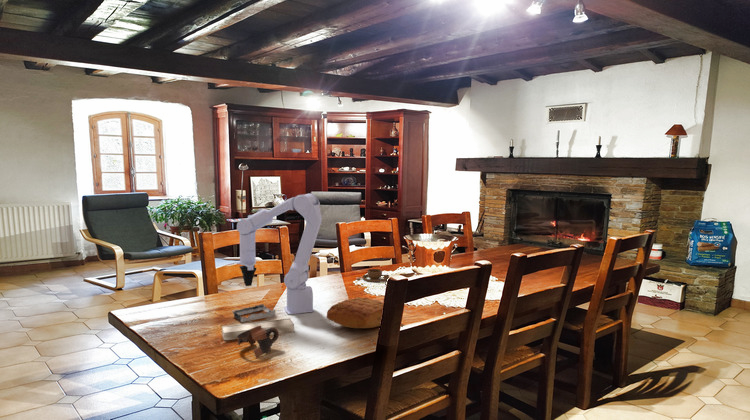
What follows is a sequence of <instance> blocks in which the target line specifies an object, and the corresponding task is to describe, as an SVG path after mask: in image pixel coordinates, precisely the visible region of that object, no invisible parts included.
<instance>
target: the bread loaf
mask: <svg viewBox="0 0 750 420" xmlns="http://www.w3.org/2000/svg"><path fill="white" fill-rule="evenodd" d="M383 303H384V302H383V301H380V300H377V299H373V298H369V297H361V296H357V297H354V298H349V299H348V298H347V299H344V300H342V301H341V302H337V303H336V304H333V305H332V306H330V307H329V309H328V310H327V311H326V318H327V319H328V320H329V321H331V322H333V323H336V324H338V325H340V326H343V327H346V328H350V329H351V328H352V329H374V328H376V327H380V326H381V325H380V322H381V317H382V310H383Z"/></svg>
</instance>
